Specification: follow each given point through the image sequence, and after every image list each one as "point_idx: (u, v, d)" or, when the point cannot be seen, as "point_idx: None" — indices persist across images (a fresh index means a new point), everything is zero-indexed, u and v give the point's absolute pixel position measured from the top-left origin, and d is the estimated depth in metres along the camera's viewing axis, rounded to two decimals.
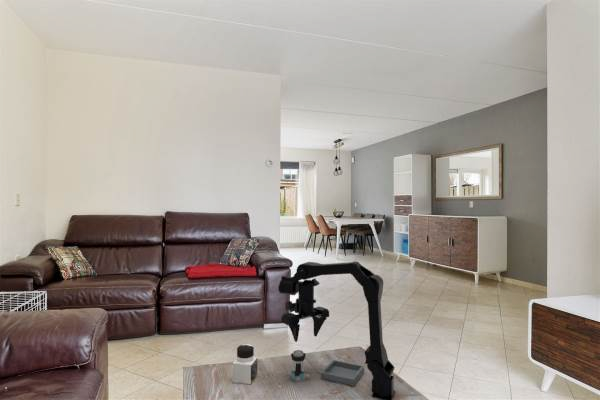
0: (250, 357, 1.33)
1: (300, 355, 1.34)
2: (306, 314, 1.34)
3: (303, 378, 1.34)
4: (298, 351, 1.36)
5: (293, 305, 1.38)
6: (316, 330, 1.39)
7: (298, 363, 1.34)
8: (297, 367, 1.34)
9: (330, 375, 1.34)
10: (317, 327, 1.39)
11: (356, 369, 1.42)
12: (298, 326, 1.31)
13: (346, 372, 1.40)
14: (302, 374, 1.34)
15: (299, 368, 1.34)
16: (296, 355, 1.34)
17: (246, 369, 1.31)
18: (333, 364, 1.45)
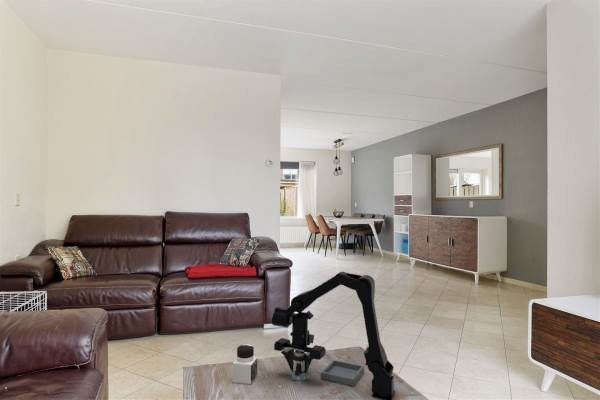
0: (250, 357, 1.33)
1: (301, 355, 1.34)
2: (291, 345, 1.34)
3: (303, 378, 1.34)
4: (299, 351, 1.36)
5: None
6: None
7: (299, 363, 1.34)
8: (298, 367, 1.34)
9: (330, 375, 1.34)
10: None
11: (356, 369, 1.42)
12: (286, 354, 1.35)
13: (346, 372, 1.40)
14: (302, 374, 1.34)
15: (299, 368, 1.34)
16: (297, 355, 1.33)
17: (246, 369, 1.31)
18: (333, 364, 1.45)
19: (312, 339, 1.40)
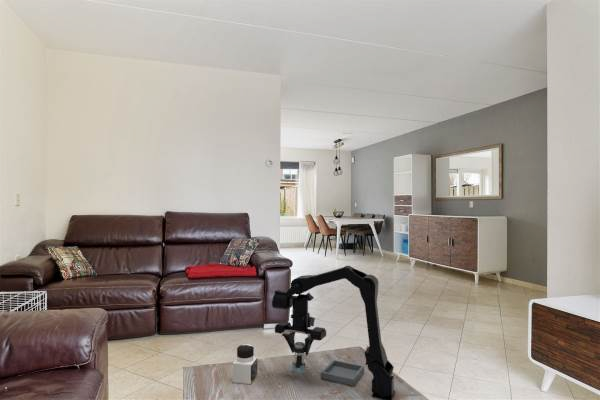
0: (250, 357, 1.33)
1: (301, 347, 1.34)
2: (291, 327, 1.34)
3: (304, 370, 1.34)
4: (299, 343, 1.36)
5: None
6: None
7: (299, 355, 1.34)
8: (298, 359, 1.34)
9: (330, 375, 1.34)
10: None
11: (356, 369, 1.42)
12: (286, 337, 1.35)
13: (346, 372, 1.40)
14: (303, 366, 1.34)
15: (300, 360, 1.34)
16: (297, 347, 1.34)
17: (246, 369, 1.31)
18: (333, 364, 1.45)
19: (313, 322, 1.40)
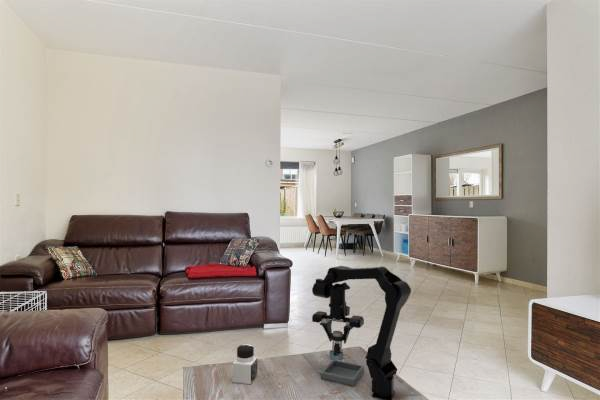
0: (250, 357, 1.33)
1: (340, 335, 1.36)
2: (330, 316, 1.36)
3: (341, 358, 1.37)
4: (337, 331, 1.38)
5: None
6: None
7: (337, 343, 1.37)
8: (336, 347, 1.37)
9: (330, 375, 1.34)
10: None
11: (356, 369, 1.42)
12: (325, 325, 1.37)
13: (346, 372, 1.40)
14: (341, 354, 1.37)
15: (338, 348, 1.37)
16: (336, 335, 1.36)
17: (246, 369, 1.31)
18: (333, 364, 1.45)
19: (348, 311, 1.43)
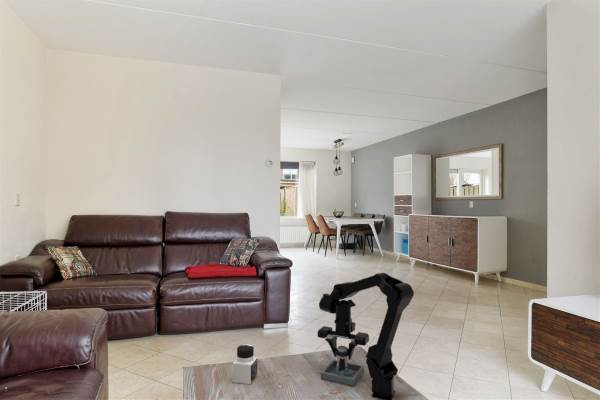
0: (250, 357, 1.33)
1: (345, 351, 1.37)
2: (335, 332, 1.37)
3: (347, 373, 1.37)
4: (342, 347, 1.39)
5: None
6: None
7: (342, 358, 1.37)
8: (341, 362, 1.37)
9: (330, 375, 1.34)
10: None
11: (356, 369, 1.42)
12: (330, 341, 1.38)
13: None
14: (346, 369, 1.37)
15: (343, 363, 1.37)
16: (341, 350, 1.37)
17: (246, 369, 1.31)
18: (333, 364, 1.45)
19: (354, 327, 1.43)
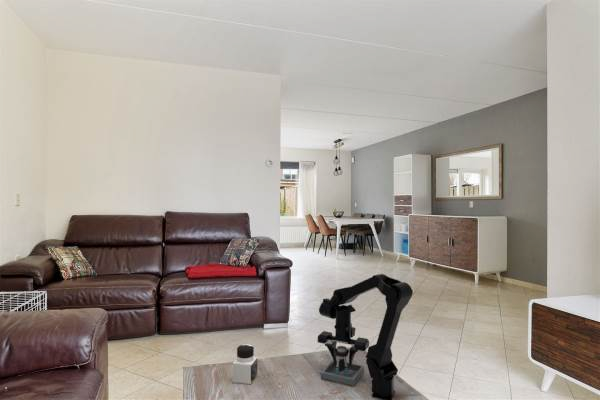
0: (250, 357, 1.33)
1: (344, 351, 1.37)
2: (335, 338, 1.37)
3: (347, 373, 1.37)
4: (341, 347, 1.39)
5: None
6: None
7: (342, 358, 1.37)
8: (341, 362, 1.37)
9: (330, 375, 1.34)
10: None
11: (356, 369, 1.42)
12: (329, 346, 1.38)
13: None
14: (346, 369, 1.37)
15: (343, 363, 1.37)
16: (340, 351, 1.37)
17: (246, 369, 1.31)
18: (333, 364, 1.45)
19: (354, 332, 1.43)
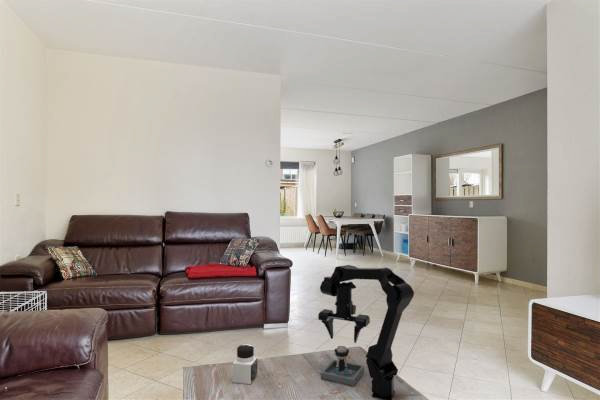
0: (250, 357, 1.33)
1: (344, 351, 1.37)
2: (336, 315, 1.37)
3: (347, 373, 1.37)
4: (341, 347, 1.39)
5: None
6: None
7: (342, 359, 1.37)
8: (341, 362, 1.37)
9: (330, 375, 1.34)
10: None
11: (356, 369, 1.42)
12: (326, 323, 1.39)
13: None
14: (346, 369, 1.37)
15: (343, 363, 1.37)
16: (340, 351, 1.37)
17: (246, 369, 1.31)
18: (333, 364, 1.45)
19: (354, 309, 1.43)
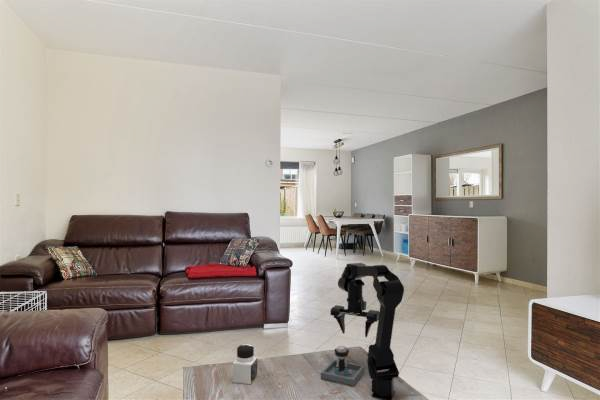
0: (250, 357, 1.33)
1: (344, 351, 1.37)
2: (347, 310, 1.43)
3: (347, 373, 1.37)
4: (341, 347, 1.39)
5: None
6: None
7: (342, 359, 1.37)
8: (341, 362, 1.37)
9: (330, 375, 1.34)
10: None
11: (356, 369, 1.42)
12: (338, 318, 1.45)
13: None
14: (346, 369, 1.37)
15: (343, 363, 1.37)
16: (340, 351, 1.37)
17: (246, 369, 1.31)
18: (333, 364, 1.45)
19: (365, 305, 1.49)
